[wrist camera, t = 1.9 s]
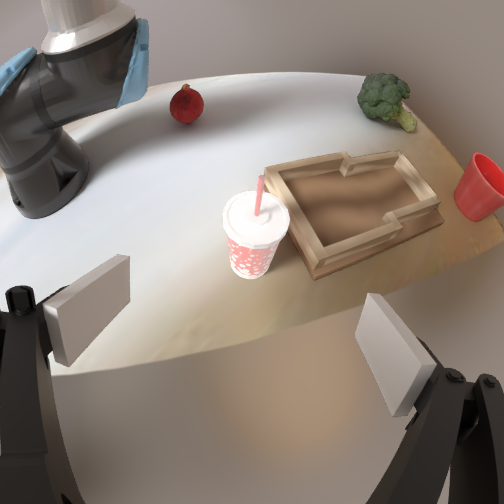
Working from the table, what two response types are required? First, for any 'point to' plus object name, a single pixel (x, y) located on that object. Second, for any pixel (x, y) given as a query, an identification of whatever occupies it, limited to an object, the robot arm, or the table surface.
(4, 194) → the table surface
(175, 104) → the pomegranate
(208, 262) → the table surface
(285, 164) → the light brown wooden tray
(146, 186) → the table surface
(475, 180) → the flower pot
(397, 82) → the vegetable
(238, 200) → the beverage cup
